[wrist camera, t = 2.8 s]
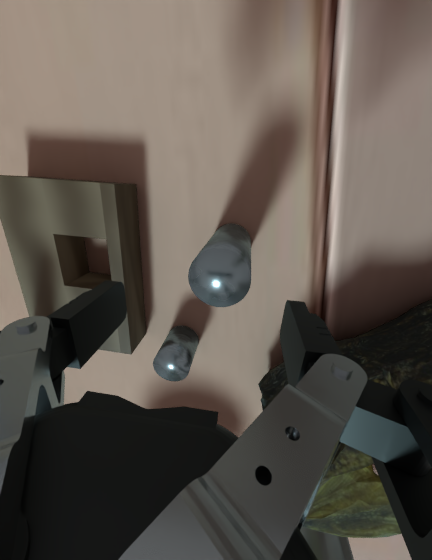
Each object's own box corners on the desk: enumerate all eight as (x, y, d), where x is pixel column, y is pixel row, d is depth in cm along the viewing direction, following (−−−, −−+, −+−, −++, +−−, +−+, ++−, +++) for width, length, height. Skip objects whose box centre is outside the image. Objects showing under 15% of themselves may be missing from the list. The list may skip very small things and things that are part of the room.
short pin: (199, 327, 28) (189, 355, 24) (198, 353, 30) (188, 383, 25) (168, 323, 29) (152, 349, 24) (168, 349, 30) (153, 378, 26)
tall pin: (253, 225, 23) (254, 251, 13) (248, 263, 24) (246, 310, 15) (213, 221, 23) (188, 245, 14) (211, 259, 25) (187, 303, 15)
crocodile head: (304, 484, 29) (264, 580, 17) (265, 351, 36) (216, 350, 24) (643, 475, 18) (1239, 731, 6) (492, 286, 25) (619, 222, 13)
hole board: (136, 184, 23) (-14, 181, 10) (146, 333, 30) (66, 445, 17) (27, 176, 24) (-230, 164, 11) (61, 321, 31) (-73, 417, 18)
